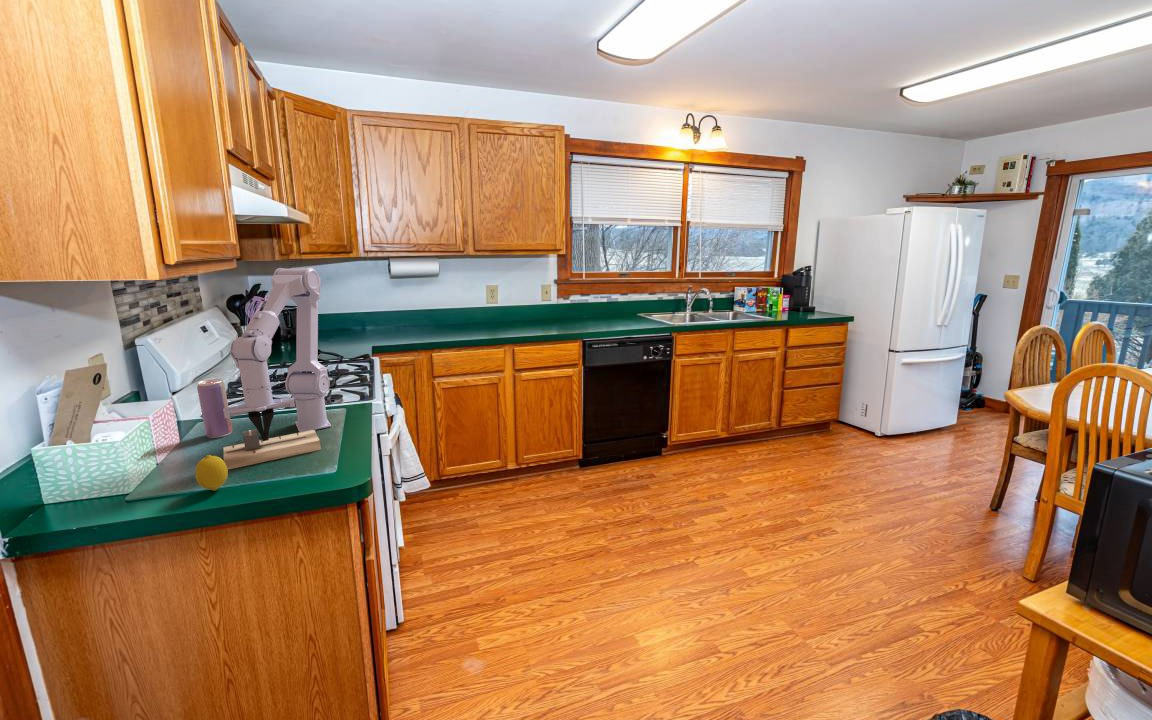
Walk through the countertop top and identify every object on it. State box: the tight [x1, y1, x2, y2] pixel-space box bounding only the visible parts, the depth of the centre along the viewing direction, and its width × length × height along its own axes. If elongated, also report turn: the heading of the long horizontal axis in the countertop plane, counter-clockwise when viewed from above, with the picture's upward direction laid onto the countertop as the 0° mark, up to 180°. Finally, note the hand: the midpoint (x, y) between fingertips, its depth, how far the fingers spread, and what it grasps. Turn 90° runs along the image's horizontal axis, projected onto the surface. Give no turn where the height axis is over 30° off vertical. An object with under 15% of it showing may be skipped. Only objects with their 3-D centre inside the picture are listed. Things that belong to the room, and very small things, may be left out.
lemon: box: [194, 454, 229, 492], centre depth 108 cm, size 6×6×8 cm
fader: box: [242, 428, 260, 450], centre depth 124 cm, size 4×3×4 cm
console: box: [223, 430, 322, 471], centre depth 127 cm, size 9×20×3 cm, turn 124°
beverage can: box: [196, 378, 233, 439], centre depth 138 cm, size 6×6×15 cm
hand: (265, 439), depth 126 cm, fingers closed
